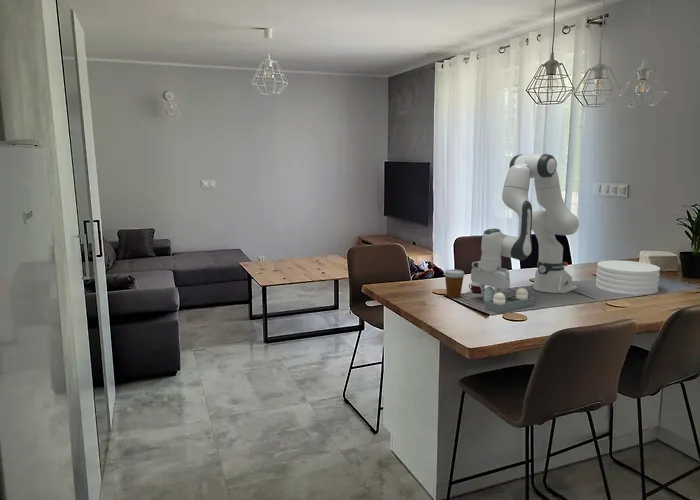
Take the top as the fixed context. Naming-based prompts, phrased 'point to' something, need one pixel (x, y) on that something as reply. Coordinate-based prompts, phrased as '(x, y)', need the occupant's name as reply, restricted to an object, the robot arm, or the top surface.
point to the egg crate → (510, 304)
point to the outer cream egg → (499, 298)
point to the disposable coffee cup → (454, 282)
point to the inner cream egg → (522, 293)
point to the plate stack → (627, 277)
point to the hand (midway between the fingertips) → (489, 295)
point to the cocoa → (475, 287)
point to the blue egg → (488, 294)
